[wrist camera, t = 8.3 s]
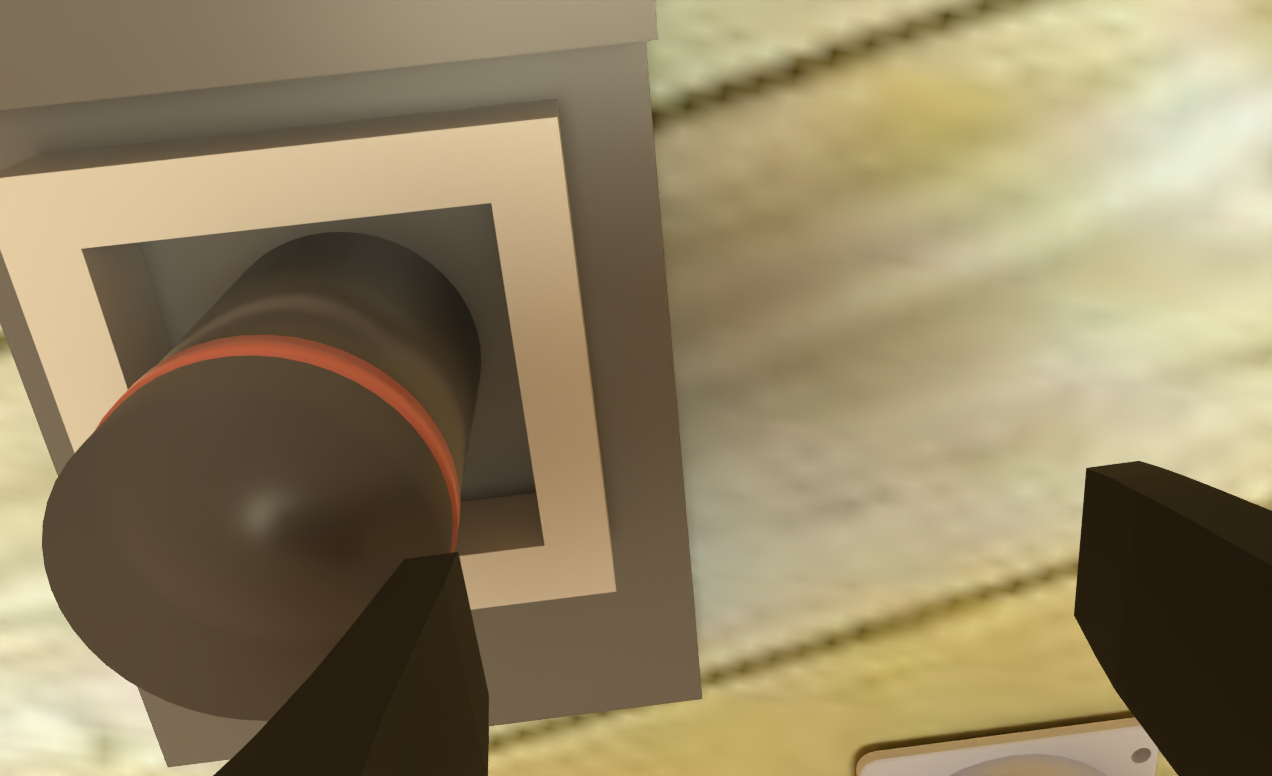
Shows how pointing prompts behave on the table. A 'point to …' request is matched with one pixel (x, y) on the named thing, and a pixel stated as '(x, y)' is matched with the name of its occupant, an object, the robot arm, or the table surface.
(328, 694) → the robot arm
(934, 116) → the table surface
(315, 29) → the base with square socket
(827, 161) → the table surface
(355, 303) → the lens
